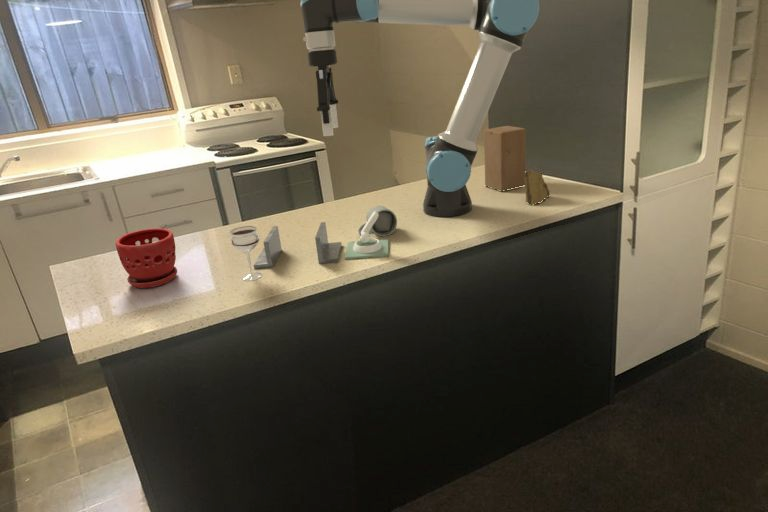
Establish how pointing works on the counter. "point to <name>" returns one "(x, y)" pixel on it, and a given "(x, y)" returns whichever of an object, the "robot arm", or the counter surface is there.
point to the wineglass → (245, 245)
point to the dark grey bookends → (273, 248)
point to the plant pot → (148, 257)
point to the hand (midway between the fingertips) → (331, 131)
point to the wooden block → (505, 157)
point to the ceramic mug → (381, 221)
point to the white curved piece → (368, 237)
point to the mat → (380, 253)
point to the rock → (535, 187)
